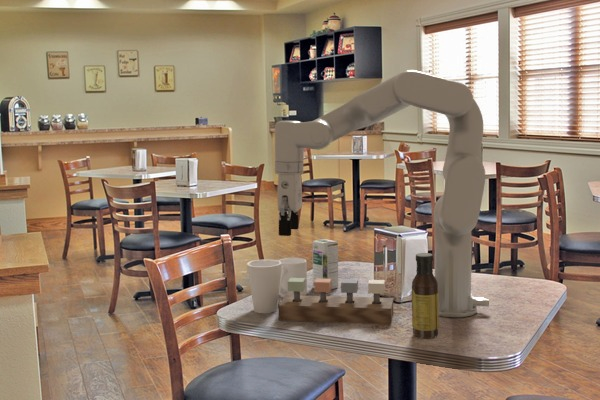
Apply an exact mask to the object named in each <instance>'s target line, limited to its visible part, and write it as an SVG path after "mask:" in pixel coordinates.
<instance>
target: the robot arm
mask: <svg viewBox="0 0 600 400" xmlns="http://www.w3.org/2000/svg"><path fill="white" fill-rule="evenodd" d="M409 106H413V107H416V108H419V109H422V110H426V111H429V112H435V113H438V114H442V115H445V117H446V118H447V121H448V126H449V131H448V132H449V134H448V139H447V140H448V141H447V148H446V152H445V153H446V154H445V158H444V163H443V166H442V177H443V178H444V181H445V184H444V189H443V195H441V196H440V197H438V199H437V201H436V203H435V204H434V209H433V225H434V226H433V227H434V229H433V230H434V277H435V278H436V280H437V283H438V313H439V317H444V318H466V317H472V316H473V315H476V314H477V312H478V309H477V307H478V306H479V307H489V306H490V299H487V298H484V297H475V296H473V292H472V253H473V252H472V251H473V250H472V249H473V248H472V247H473V246H472V244H473V243H472V241H473V240H472V239H473V238H472V230H473V229H475V227H476V226H477V223H478V221H479V218H480V217H479V216H480V211H481V207H482V201H483V195H484V191H485V184H486V170H485V166H484V164H483V162H482V161H481V151H482V145H483V136H484V120H483V119H484V118H483V115H482V110H481V109H480V107H479V105H478V103H477V102H476V100H475V99H474V96H473V92H472V90H471V89H470V87H468V86H467V85H466V84H465V83H463V82H459V81H456V80H451V79H448V78H443V77H441V76H436V75H432V74H429V73H426V72H422V71H418V70H415V69H407V70H403V71H401V72H399V73H397V74H396V75H394V76H392V77H390V78H389V79H386V80H384V81H382V82H381V83H379V84H376V85H375V86H374V87H371V88H369V89H367V90H365V91H364V92H361V93H359V94H357V96H354V97H353V98H352V99H350V100H349V101H347V102H346V103H343V105H340V106H339V107H337V108H335V109H333V110H331V111H329V112H328V113H326V114H324V115H322V116H320V117H318V118H316V119H314V120H311V121H304V122H303V121H299V120H278V121H277V122H276V123H275V125H274V174H275V175H278V177H277V210H278V211H279V213H278V214H279V215H278V236H281V237H291V235H292V230H298V229H299V221H300V220H299V211H300V209H302V207H303V196H302V195H303V194H302V193H303V192H302V189H303V188H302V186H303V185H302V176H301V175H303V174H304V154H305V153H304V149H308V150H315V151H316V150H317V151H321V150H323V149H326V148H328V146H330V144H331V143H333V142H335V141H337V140H339V139H340V138H343V137H345V136H347V135H350V133H353V132H355V131H357V130H360V129H363V128H367V127H371V126H372V125H374V124H378V123H379V122H382V120H384V119H386V118H388V117H390V116H393V115H395V114H396V113H398V112H400V111H402V110H404V109H406V108H407V107H409Z"/></svg>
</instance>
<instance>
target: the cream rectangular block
mask: <svg viewBox="0 0 600 400" xmlns="http://www.w3.org/2000/svg"><path fill="white" fill-rule="evenodd" d="M367 285H368V287H367V291H368V294H373V298H374V304H380V298H381V297H380V296H381V295H380V294H382V295H383V294H385V291H386V279H369V280H368V283H367Z"/></svg>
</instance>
